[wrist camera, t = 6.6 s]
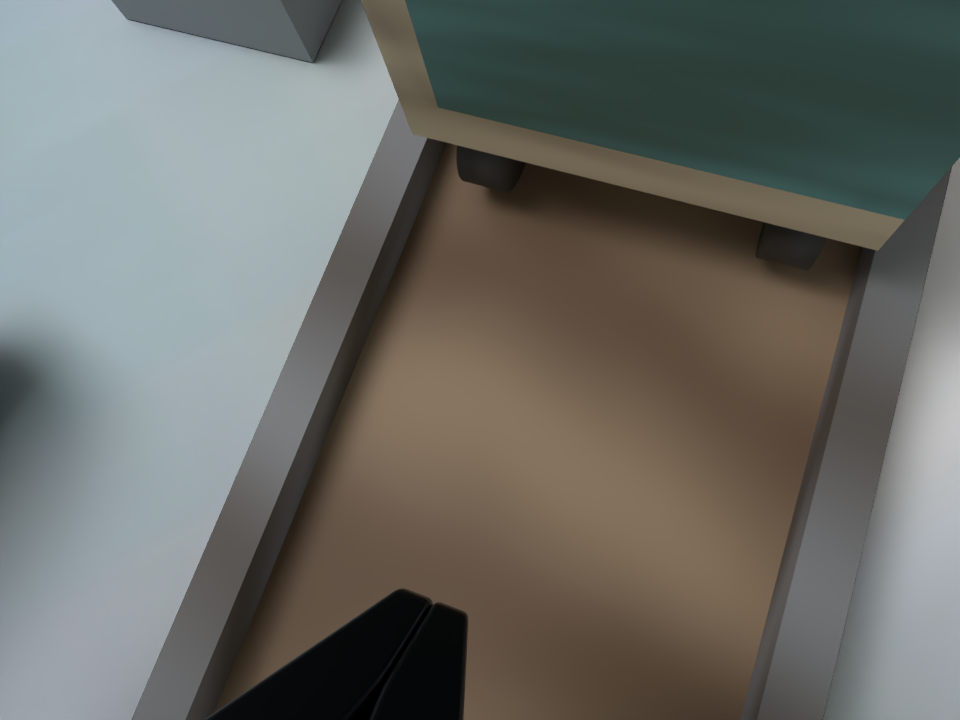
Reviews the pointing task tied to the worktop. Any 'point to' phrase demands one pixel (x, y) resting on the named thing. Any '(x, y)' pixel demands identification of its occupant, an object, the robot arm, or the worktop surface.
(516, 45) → the cart
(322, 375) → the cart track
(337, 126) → the worktop surface
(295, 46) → the grey block with cylinders
